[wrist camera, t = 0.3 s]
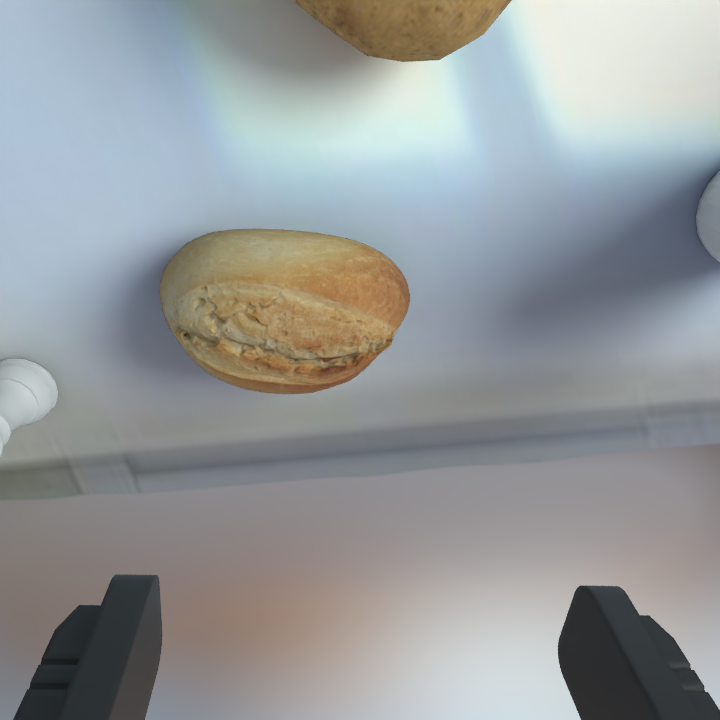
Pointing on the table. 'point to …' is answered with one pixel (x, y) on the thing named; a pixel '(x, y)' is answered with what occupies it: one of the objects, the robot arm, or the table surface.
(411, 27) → the potato
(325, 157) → the table surface
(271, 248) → the bread roll
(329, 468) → the table surface
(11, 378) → the rook chess piece
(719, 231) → the coffee cup
